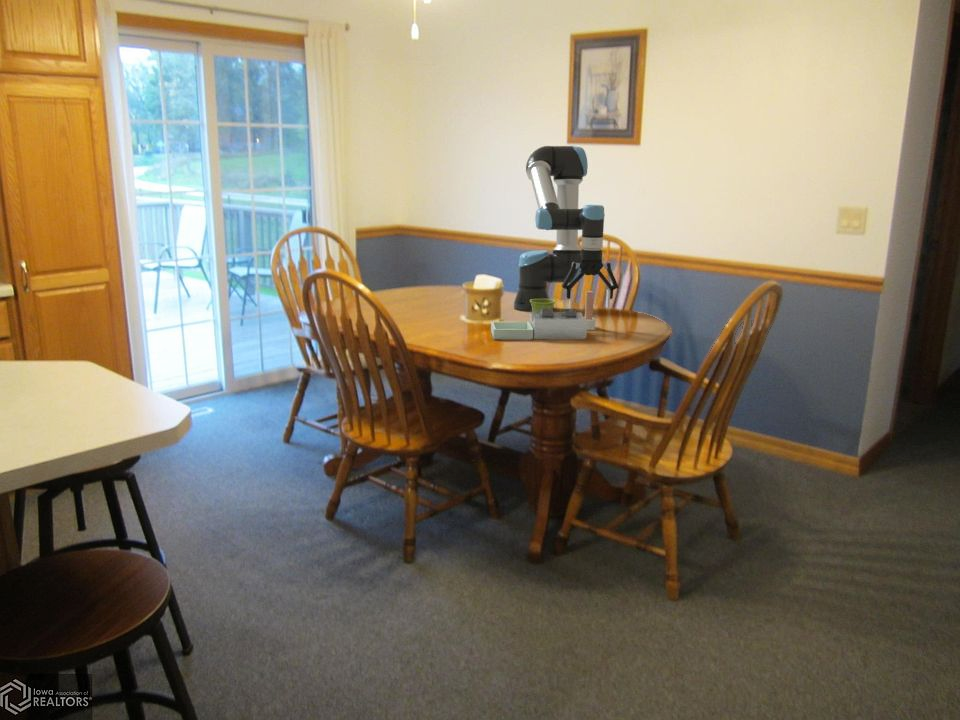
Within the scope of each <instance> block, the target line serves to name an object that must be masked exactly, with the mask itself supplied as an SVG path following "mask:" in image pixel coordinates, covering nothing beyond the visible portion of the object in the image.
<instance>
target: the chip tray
mask: <svg viewBox="0 0 960 720" xmlns="http://www.w3.org/2000/svg"><path fill="white" fill-rule="evenodd" d="M490 332H491V336H492V338H493V340H495V341H496V340H497V341H500V340H503V341H504V340H510V341H511V340H517V341H518V340H519V341H521V340H522V341H523V340H527V341H528V340H529V341H530V340H534V338H533V328H532V326H531V325H530V321H490Z"/></svg>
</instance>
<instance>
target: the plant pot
mask: <svg viewBox="0 0 960 720" xmlns="http://www.w3.org/2000/svg"><path fill="white" fill-rule="evenodd" d="M530 302H531V306H532V311H531V312H541V309H553V310H554V305H555V303H556V300H555V299H550V298H549V299H531V300H530Z"/></svg>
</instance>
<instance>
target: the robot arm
mask: <svg viewBox="0 0 960 720" xmlns="http://www.w3.org/2000/svg"><path fill="white" fill-rule="evenodd" d="M588 169H589V168H588V158H587V154H586V151H585V149H584V148H583V147H581V146H575V145H569V146H568V145H564V146H563V145H557V146H556V145H544V146H540V147H539V148H537V149H535V150H534V151H533V152H532V153H531V154H530V155H529V157H528V159H527V161H526V164H525V172H526V176H527V177H528V179H529V180H530V182H531V185H532V188H533V192H534V197H535V200H536V203H537V207H538V209H537V210H536V211H535V217H534V218H535V219H534V220H535V221H534V222H535V226H536V228H537V230H546V231H553V230H554V231H556V243H555V244H556V245H555V246H554V248H553V249H552V253H549V251H548V250H547V249H546V250H545V249H543V250H540V249H539V250H538V249H537V250H531V251H525V252H523V253H521V254H520V256H519V261H518V290H517V293H516V296H515V299H514V301H513V309H515V310H518V311H521V312H532V306H531V302H530V300H531V299H550V296H549V293H548V284H549V283H550V284H552V283H553V284H556V283H557V284H560V283H561V287H562V288H563V289H564V290H566V299H568V309H573V297H574V291H573V287H574V286H575V285H576V284H577V283H579V282H581V281H582V279H583V277H584V276H596V275H598V277H600V279H601V280H602V281H603V283H604V284H605V285H606V287H607V289H606V296H605V308H606V309H610V307H611V306H610V305H611V304H610V303H611V302H610V301H611V300H612V299H613V298H614V290H616V289H619V285H618V281H617V280H616V277H615V275H614V273H613V271H612V267H611V266H612V265H611V263H610V262H609V261H607V262H604V263H603V250H602V249H603V248H604V247H603V246H604V244H603V243H604V228H605V227H604V226H605V207H604V206H603V205H602V204H586V205H584V206H583V208H579V193H580V192H579V191H580V190H579V187H580V184H581V183H582V182H583V178H584V177H587V174H588ZM552 177H553V180H552ZM553 182H554V183H555V184H556V188H557V189H556V190H555V187H554V184H553ZM579 231H581V244H580V246H581V247H580V246H579V245H578V244H579V243H578V241H579V237H578V236H579ZM581 248H582V249H581ZM603 268H604V269H605V270H606V272H607V274H608V276H609V278H610V281H611V282H610V281H609V280H608V279H607V278H606V276H605V275H604V274H603V273H602V271H601V270H602V269H603ZM611 283H612V284H611Z"/></svg>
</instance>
